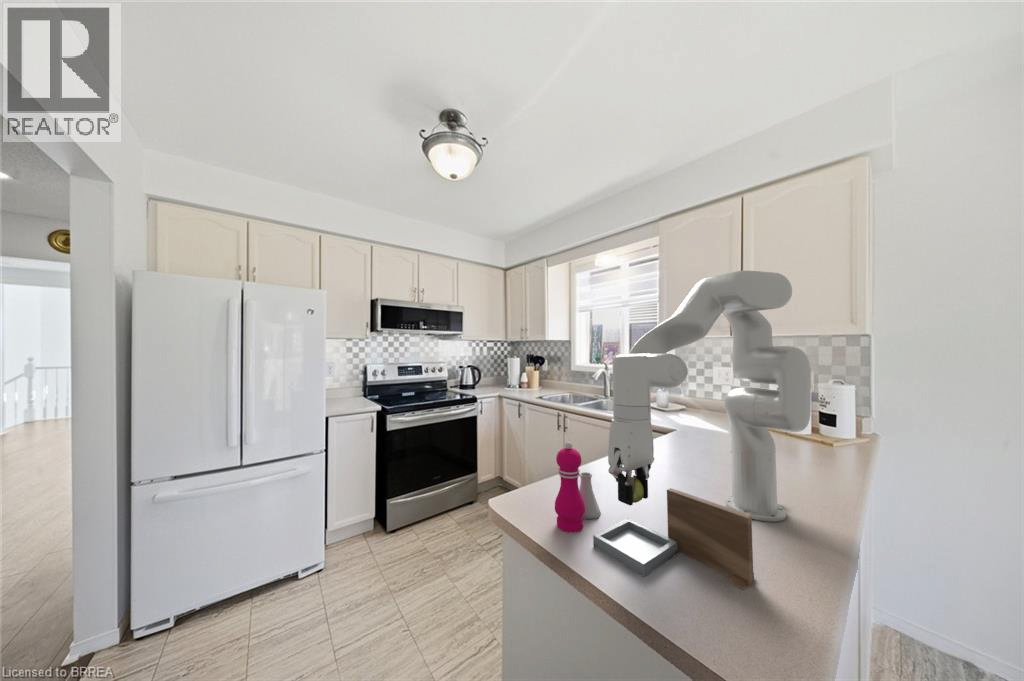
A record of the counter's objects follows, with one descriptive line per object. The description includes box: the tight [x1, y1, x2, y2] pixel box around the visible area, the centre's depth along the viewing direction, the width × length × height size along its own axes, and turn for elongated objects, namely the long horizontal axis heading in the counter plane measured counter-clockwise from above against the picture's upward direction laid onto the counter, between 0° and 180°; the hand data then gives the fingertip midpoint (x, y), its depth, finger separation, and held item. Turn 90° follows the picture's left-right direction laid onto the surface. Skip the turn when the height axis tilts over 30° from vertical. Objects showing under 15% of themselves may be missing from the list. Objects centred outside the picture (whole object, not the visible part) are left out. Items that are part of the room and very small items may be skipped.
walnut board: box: [666, 487, 755, 590], centre depth 65 cm, size 5×15×12 cm, turn 35°
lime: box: [630, 476, 644, 504], centre depth 70 cm, size 4×5×5 cm
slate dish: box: [592, 518, 678, 578], centre depth 70 cm, size 12×12×2 cm
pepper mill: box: [554, 441, 585, 534], centre depth 80 cm, size 7×7×20 cm
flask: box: [579, 471, 602, 520], centre depth 86 cm, size 7×7×10 cm
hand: (633, 498), depth 70 cm, fingers closed on lime, 4 cm apart
